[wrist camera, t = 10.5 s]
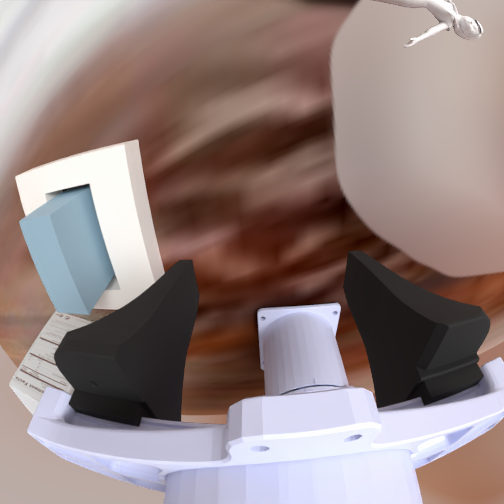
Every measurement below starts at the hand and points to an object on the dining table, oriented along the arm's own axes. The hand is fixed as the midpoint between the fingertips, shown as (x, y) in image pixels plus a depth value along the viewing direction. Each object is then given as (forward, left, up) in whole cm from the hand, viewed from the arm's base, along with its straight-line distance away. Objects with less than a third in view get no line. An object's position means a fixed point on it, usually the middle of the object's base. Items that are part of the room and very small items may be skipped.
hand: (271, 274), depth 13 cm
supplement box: (-15, +23, -10) cm, 29 cm away
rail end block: (-1, +15, -10) cm, 18 cm away
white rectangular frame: (-1, +15, -9) cm, 18 cm away
